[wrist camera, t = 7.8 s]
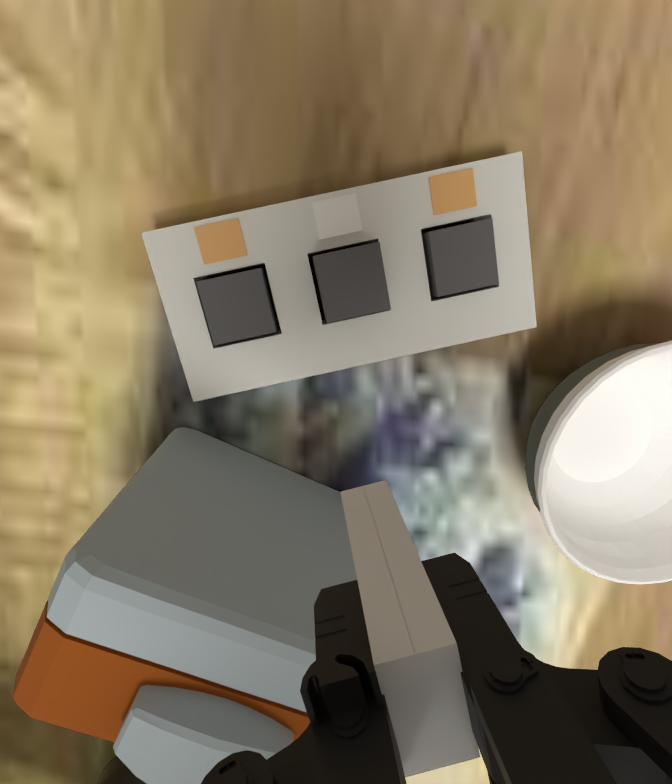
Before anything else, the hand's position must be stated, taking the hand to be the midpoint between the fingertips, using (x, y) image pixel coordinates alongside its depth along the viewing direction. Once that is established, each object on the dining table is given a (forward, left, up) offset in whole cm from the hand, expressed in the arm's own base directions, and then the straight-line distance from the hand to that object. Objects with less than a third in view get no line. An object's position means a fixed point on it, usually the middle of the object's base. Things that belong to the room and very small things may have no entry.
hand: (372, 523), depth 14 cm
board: (+2, +7, -22) cm, 23 cm away
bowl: (+21, -10, -22) cm, 33 cm away
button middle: (+2, +7, -20) cm, 22 cm away
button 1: (+10, +7, -22) cm, 25 cm away
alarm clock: (-9, -10, -22) cm, 26 cm away
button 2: (-6, +7, -22) cm, 23 cm away
